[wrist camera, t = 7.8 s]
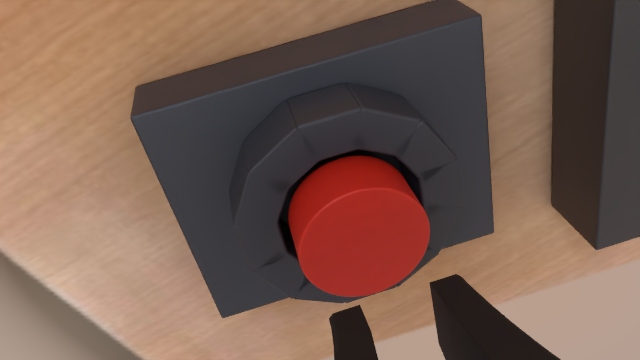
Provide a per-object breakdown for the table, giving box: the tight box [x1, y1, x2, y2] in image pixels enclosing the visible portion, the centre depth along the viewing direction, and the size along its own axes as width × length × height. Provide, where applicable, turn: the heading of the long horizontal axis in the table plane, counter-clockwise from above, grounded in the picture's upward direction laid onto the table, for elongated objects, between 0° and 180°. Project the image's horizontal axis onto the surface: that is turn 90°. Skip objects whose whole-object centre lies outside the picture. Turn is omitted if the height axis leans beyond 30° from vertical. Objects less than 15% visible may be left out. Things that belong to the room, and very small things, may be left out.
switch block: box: [131, 0, 494, 318], centre depth 18 cm, size 10×8×4 cm
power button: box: [288, 156, 430, 297], centre depth 16 cm, size 4×4×2 cm
